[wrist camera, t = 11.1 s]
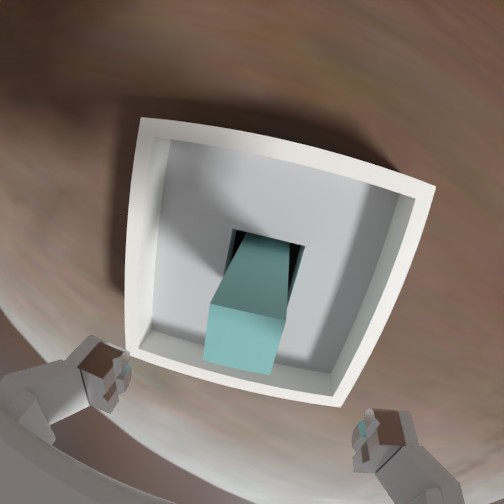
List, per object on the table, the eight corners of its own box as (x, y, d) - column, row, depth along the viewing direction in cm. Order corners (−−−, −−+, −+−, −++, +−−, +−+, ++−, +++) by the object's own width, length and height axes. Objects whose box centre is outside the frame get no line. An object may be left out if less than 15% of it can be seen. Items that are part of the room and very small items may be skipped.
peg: (289, 241, 21) (286, 320, 11) (280, 280, 22) (269, 375, 12) (246, 232, 21) (209, 303, 12) (239, 271, 22) (202, 360, 13)
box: (404, 176, 18) (435, 186, 13) (334, 364, 24) (340, 407, 19) (174, 122, 19) (140, 117, 14) (152, 319, 25) (126, 354, 20)
